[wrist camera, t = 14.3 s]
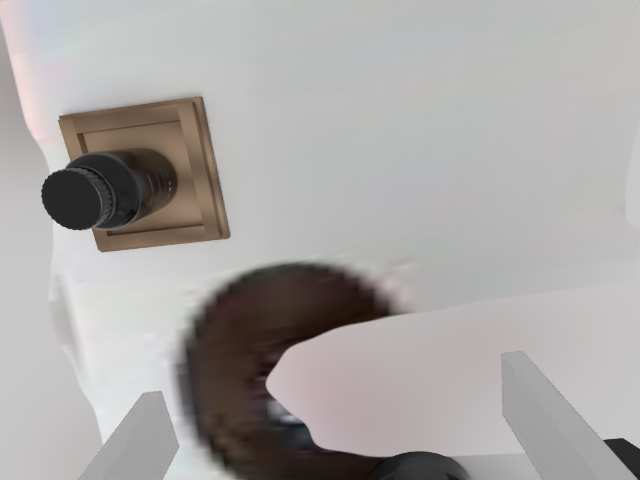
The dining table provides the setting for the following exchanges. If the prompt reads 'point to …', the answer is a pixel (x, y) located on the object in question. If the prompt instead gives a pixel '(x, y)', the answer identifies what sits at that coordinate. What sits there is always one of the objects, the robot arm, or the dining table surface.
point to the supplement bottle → (109, 189)
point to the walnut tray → (181, 152)
